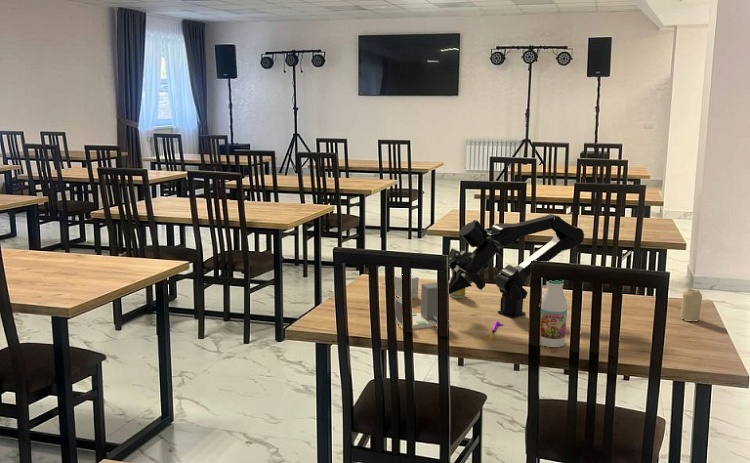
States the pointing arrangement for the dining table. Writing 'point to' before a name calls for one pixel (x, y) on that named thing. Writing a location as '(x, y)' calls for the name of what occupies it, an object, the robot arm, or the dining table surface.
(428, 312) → the gray block
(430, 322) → the plate
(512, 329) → the dining table surface
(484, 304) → the dining table surface
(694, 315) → the candle
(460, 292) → the supplement bottle
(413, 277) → the product box
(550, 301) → the milk bottle
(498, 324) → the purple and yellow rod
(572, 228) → the robot arm
